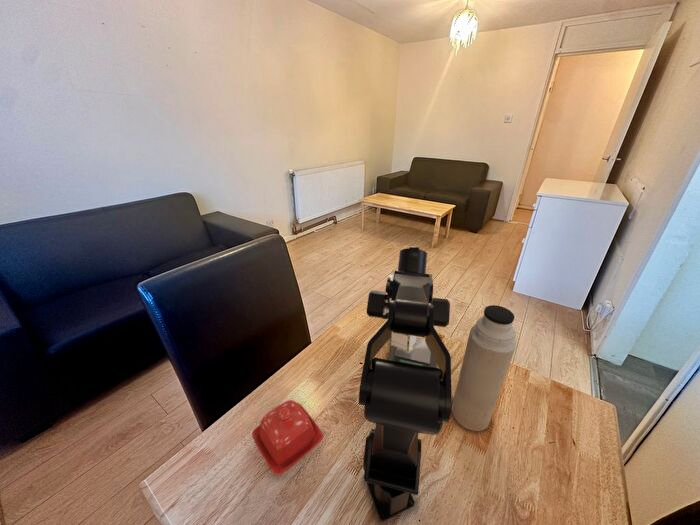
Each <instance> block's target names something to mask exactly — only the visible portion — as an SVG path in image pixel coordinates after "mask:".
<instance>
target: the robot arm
mask: <svg viewBox="0 0 700 525" xmlns="http://www.w3.org/2000/svg"><path fill="white" fill-rule="evenodd" d="M427 261H428V252H427V251H425V250H424V249H420V247H419V246H409V248H408V247H407V248H403V249H401V250H399V256H398V265H397V270H392V271H391V274H388V276H387V280H386V284H385V291H382V290H374V289H372V290H371V291H369V292H368V297H367V304H366V315H367V316H368V317H369V318H374V319H375V318H376V319H382V320H386V321H385V322H384V324H382V326H381V327H380V328H379V329H378V330H377V331H376V332H375V334H374V335H373V336H372V337H371V338H370V339H369V341H368V342H367V345H366V349H365V355H364V361H363V365H362V366H363V367H362V372H361V378H360V383H359V393H358V405H360V406H363V408H364V409H363V416H364V418H365V420H366V421H367V422H369V423H373V424H374V425H375V426H374V428H371V429H370V431H369V435H367V436H366V437H365V445H364V451H363V461H362V469H363V471H364V475H363V480H364V483H366V486H367V490H368V491H369V494H370V497H371V499H372V502H373V505H374V507H375V510H376V512H377V515H378V518H379V520H380V521H381V522H382V523H384V522H386V521H388V520H390V519H392V518H394V517H396V516H398V515H400V514H402V513H404V512H406V511H408V510H410V509H412V508H413V507H415V500H414V498H413V495H414V496H416V497H418V496H419V490H420V489H419V488H420V477H421V476H420V475H421V460H422V439H421V438H419V434H422V435H430V436H436V435H439V434H440V433H441V432H442V429H443V424H444V423H449V422H450V419H451V413H452V403H453V400H452V396H453V395H452V357H451V354H450V352H449V350H448V348H447V347H446V345H445V343H444V342H443V340H442V338H441V336H440V334H439V333H438V331H437V330H436V328H435V327H438V328H446V327H447V326H449V324H450V315H451V314H450V312H451V302H450V301H449V298H448V299H447V298H439V297H433V295H434V281H433V274H431V273H426V272H427ZM392 332H393V333H398V334H405V335H411V336H417V337H418V338H424V339H425V342H426V344H427V346H428V348H429V350H430V352H431V354H432V355H433V357H434V359H435V361H436V366H437V367H436V368H434V367H428V366H422V365H416V364H410V363H404V362H398V361H392V360H388V359H386V358H381V357H376V355H377V354H378V353H379V352H380V351H381V350H382V348H383V347H384V346H385V345H386V344H387V342H389V341H390V337H391V335H392ZM382 517H383V518H382Z"/></svg>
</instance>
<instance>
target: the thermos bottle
mask: <svg viewBox="0 0 700 525" xmlns="http://www.w3.org/2000/svg"><path fill="white" fill-rule="evenodd" d="M514 320H515V314H514V313H513V312H512V311H511V310H510V309H508V308H506V307H504V306H501V305H497V304H495V305H494V304H491V305H487V306H486V307H485V308H484V310H483V316H482V317H479V318H478V319H476V322H475V324H474V325H472V326H471V328H470V330H469V333H468V338H467V342H466V347H465V351H464V355H463V358H462V363H461V367H460V372H459V376H458V380H457V383H456V388H455V392H454V396H453V400H452V403H451V413H452V415H453V418H454V419H455V421H456V422H457V423H458V424H459V425H461V426H462V427H463V428H465V429H467V430H469V431H475V432H481V431H483V430H485V429H487V428H488V427H489V425H490V422H491V419H492V417H493V414H494V411H495V408H496V406H497V402H498V399H499V396H500V393H501V389H502V386H503V384H504V382H505V379H506V377H507V373H508V371H509V368H510V365H511V362H512V359H513V356H514V353H515V351H516V347H517V340H516V330H515V328H514V327H513V323H514Z"/></svg>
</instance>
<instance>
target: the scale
mask: <svg viewBox="0 0 700 525" xmlns="http://www.w3.org/2000/svg"><path fill="white" fill-rule="evenodd" d="M387 360H392V361H398V362H404V363H410V364H416V365H422V366H428V367H434V368H437V367H436V366H437V363H436V361H435V359H434V357H433V355H432V354H431V352H430V350H429V348H428V346H427V344H426V342H425V338H424V337H418V336H417V337H416V341H415V343H414V345H413V346H412V348H411V350H410V351H409V352H407V351H405V350H402V349H399V348H396V347H394V346H391V348H390V352H389V355H388V359H387Z"/></svg>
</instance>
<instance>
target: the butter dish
mask: <svg viewBox="0 0 700 525" xmlns="http://www.w3.org/2000/svg"><path fill="white" fill-rule="evenodd" d="M251 437H252V439H253V440H254V443H255V445H256V447H257V448H258V450H259V453H260V454H261V456H262V458H263V459H264V461H265V463H266V464H267V467H268V468H269V470H270V471H271V473H272V474H274V475H275V476H276V477H279V476H281V475H283V474H285V473H286V472H287V471H289V470H290V469H292V467H294V466H295V465H296V464H297V463H298V462H300V461H301V460H302V459H303V458H305V457H306V456H307V455H308V454H309V453H310V452H311V451H312V450H314V449H315V448H316V447H317V446H319V445H320V444H321V443H322V442H323V440H324V437H325V434H324V433H323V431H322V430H321V428H320V427H319V425H318V424H317V423H316V421H315V420H314V419H313V417H311V415H310V414H309V413H308V411H307V410H306V409H305V408H304V406H303V405H302V404H301V403H299V402H296V400H293V399H290V400H286V401H284V402H282V403H281V404H278V405H277V406H276V407H274V408H273V409H271V410H270V411H268V412H267V413H266V414H265V415H264V416H263V417H262V418H261V420H260V424H259V425H258V426H256V427H255V428H254V429H253V430H252V432H251Z"/></svg>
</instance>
